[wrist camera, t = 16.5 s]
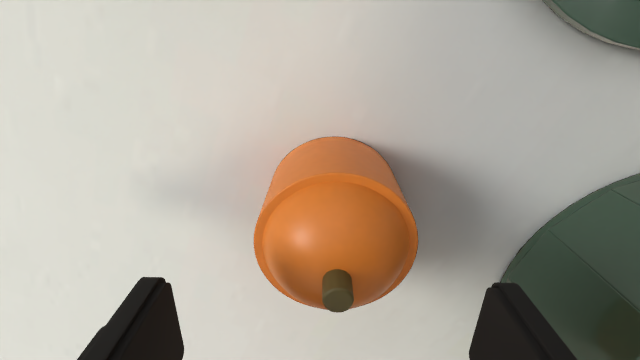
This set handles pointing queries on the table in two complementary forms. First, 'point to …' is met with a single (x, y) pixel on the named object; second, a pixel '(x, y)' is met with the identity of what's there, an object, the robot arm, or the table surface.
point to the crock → (588, 273)
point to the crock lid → (603, 19)
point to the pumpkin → (335, 226)
